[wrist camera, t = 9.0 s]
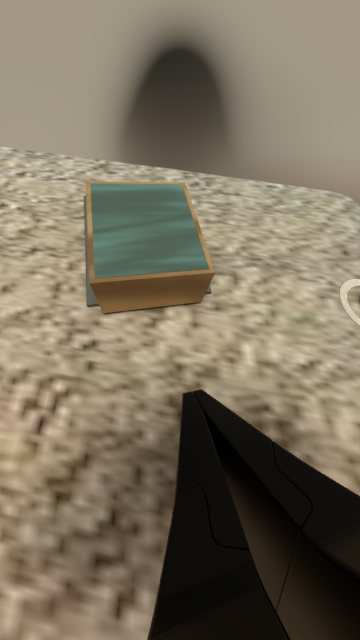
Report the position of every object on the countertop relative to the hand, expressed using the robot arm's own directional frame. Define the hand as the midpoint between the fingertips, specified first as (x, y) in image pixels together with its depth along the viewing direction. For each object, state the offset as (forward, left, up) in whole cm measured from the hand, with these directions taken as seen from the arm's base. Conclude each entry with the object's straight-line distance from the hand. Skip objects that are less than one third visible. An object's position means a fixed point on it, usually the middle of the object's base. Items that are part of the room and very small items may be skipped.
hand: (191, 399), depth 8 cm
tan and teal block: (+4, -8, -7) cm, 11 cm away
